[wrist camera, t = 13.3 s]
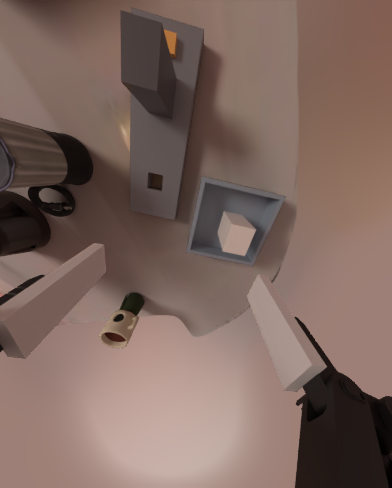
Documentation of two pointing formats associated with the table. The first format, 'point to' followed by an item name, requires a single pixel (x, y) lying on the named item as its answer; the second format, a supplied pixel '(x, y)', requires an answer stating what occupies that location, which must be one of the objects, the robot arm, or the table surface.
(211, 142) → the table surface
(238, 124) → the table surface
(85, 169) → the milk frother
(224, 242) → the block
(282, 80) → the table surface
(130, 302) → the character mug
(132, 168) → the power strip
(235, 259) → the bin
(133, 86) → the block
